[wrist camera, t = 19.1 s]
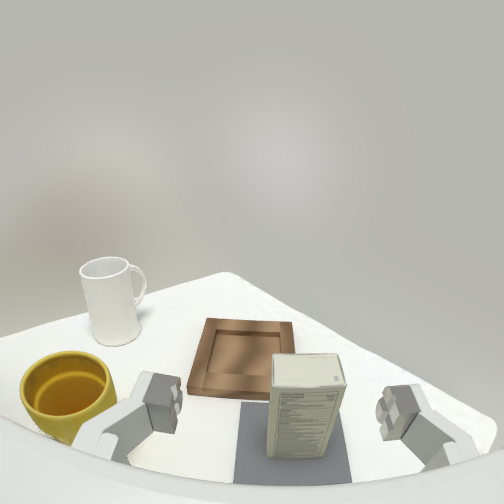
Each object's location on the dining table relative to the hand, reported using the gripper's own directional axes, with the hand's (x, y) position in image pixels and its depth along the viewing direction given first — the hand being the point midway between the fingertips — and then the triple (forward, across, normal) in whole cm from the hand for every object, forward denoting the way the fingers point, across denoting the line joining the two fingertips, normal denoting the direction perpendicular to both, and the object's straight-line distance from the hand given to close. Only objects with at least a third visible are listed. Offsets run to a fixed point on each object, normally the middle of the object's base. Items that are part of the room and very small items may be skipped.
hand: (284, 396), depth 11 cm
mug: (+32, +23, +23) cm, 45 cm away
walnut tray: (+27, +2, +22) cm, 35 cm away
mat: (+12, -4, +22) cm, 25 cm away
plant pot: (+9, +19, +23) cm, 31 cm away
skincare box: (+11, -4, +21) cm, 24 cm away
